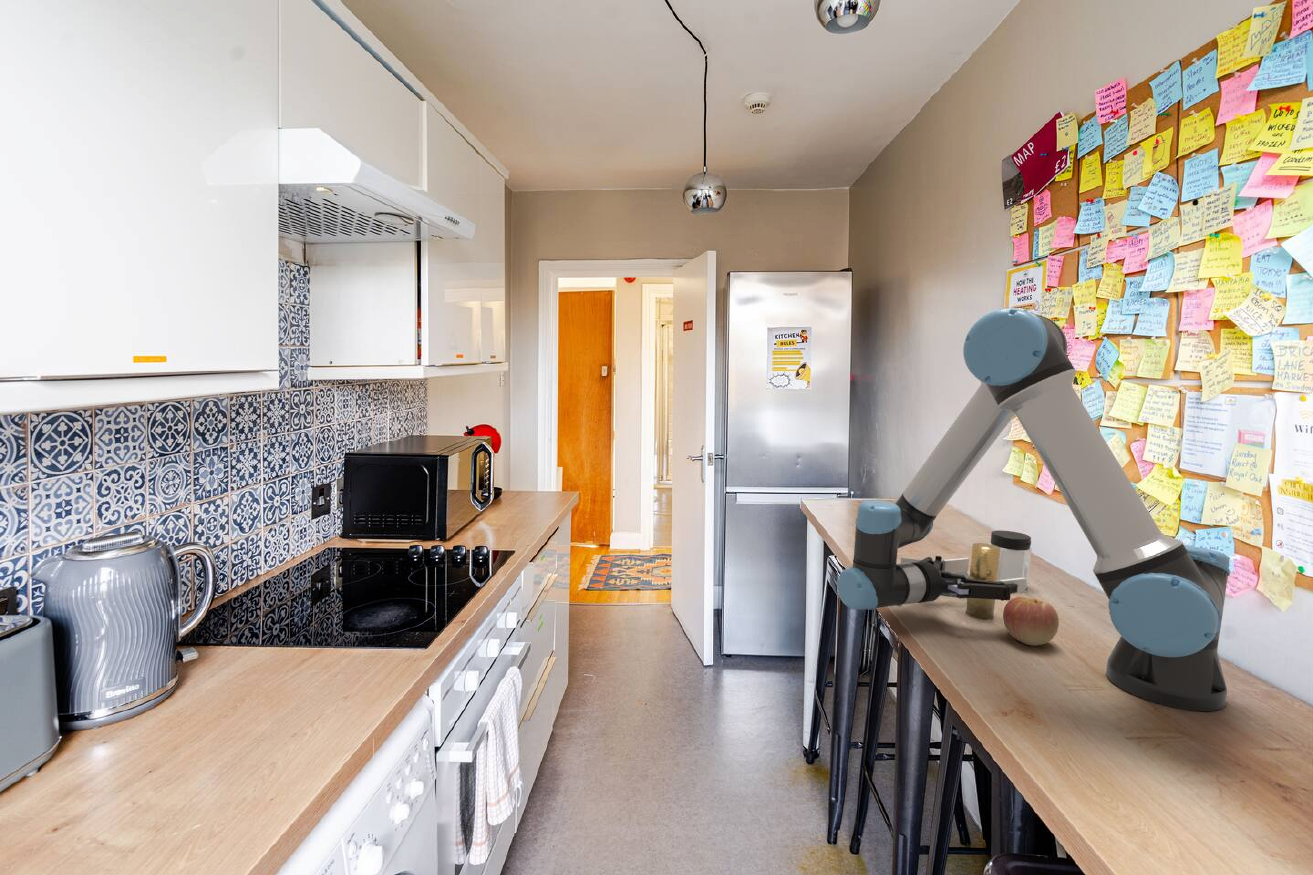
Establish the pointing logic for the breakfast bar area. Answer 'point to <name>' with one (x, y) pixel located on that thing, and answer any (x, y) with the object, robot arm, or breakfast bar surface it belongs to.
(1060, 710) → the breakfast bar surface
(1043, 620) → the apple
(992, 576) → the brass cylinder
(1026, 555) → the jar
